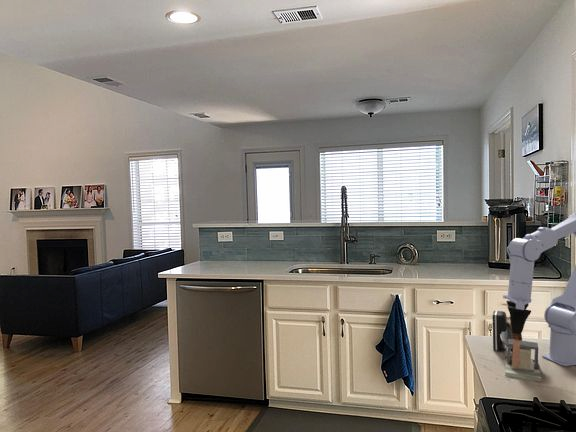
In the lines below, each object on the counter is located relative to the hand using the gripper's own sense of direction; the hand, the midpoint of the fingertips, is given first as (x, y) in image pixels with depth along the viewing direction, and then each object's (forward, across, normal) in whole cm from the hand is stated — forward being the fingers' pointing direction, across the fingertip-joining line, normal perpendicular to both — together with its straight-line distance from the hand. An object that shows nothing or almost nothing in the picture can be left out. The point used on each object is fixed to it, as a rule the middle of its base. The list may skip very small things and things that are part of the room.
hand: (515, 330), depth 125 cm
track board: (+11, 0, +2) cm, 11 cm away
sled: (+9, 0, +2) cm, 10 cm away
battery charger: (+10, -15, -3) cm, 19 cm away
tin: (+10, -19, 0) cm, 22 cm away
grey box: (+9, -2, +2) cm, 10 cm away
